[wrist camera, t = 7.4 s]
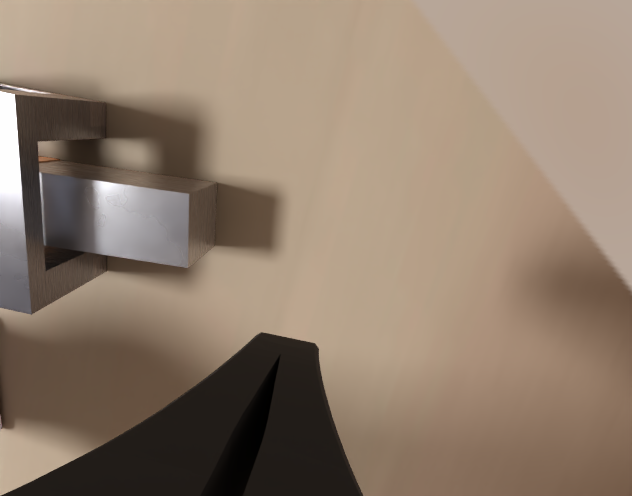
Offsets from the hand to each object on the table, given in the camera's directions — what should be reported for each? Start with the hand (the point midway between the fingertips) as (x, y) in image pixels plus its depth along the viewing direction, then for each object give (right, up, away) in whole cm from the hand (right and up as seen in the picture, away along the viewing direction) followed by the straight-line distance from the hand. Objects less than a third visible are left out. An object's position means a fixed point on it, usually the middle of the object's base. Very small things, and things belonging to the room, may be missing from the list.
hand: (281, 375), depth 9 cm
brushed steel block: (-10, +5, +9) cm, 15 cm away
